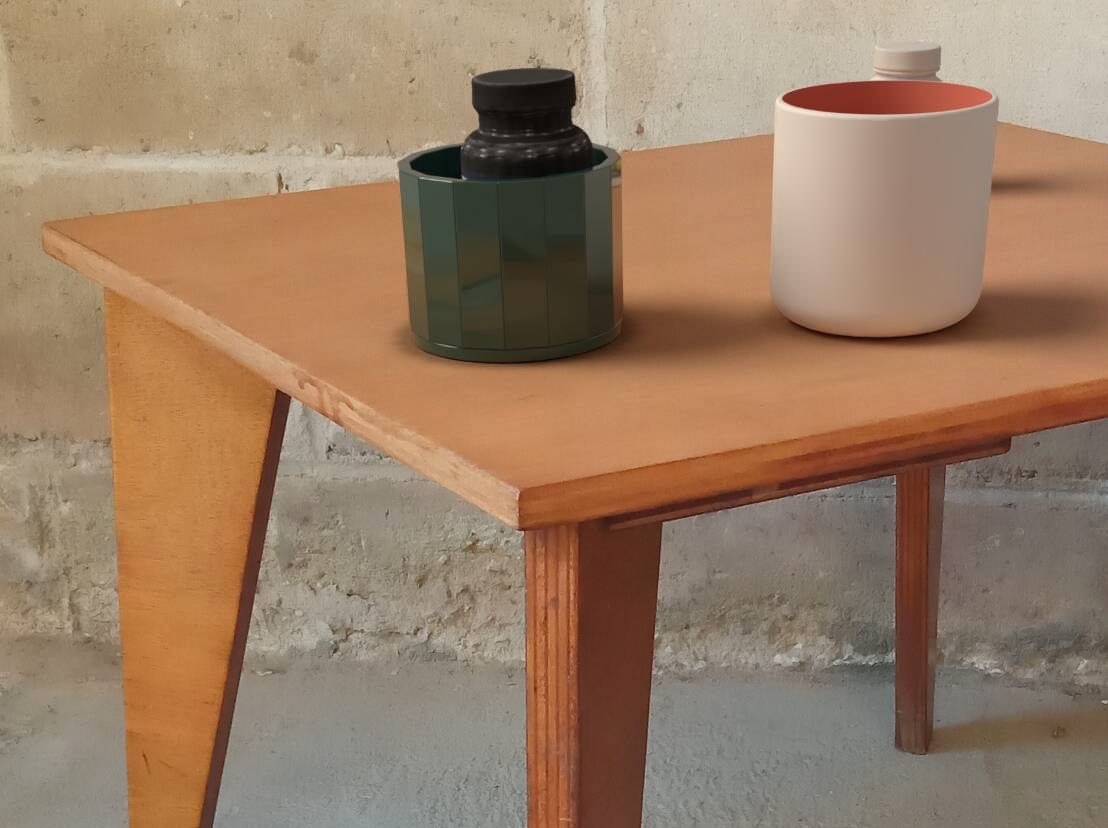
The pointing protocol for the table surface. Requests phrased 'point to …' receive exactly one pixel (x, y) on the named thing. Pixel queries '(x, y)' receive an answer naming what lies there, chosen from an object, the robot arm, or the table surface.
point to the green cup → (511, 258)
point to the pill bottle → (524, 126)
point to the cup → (881, 204)
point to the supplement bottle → (907, 61)
